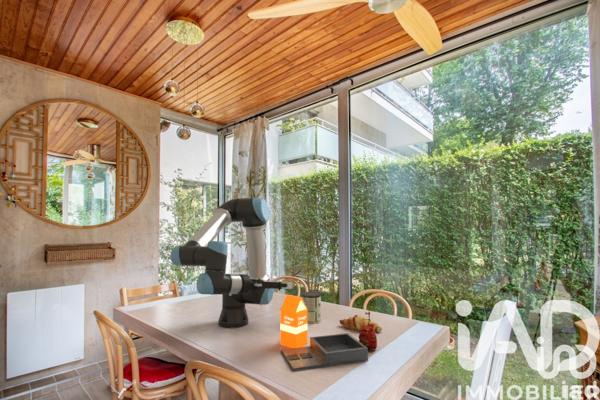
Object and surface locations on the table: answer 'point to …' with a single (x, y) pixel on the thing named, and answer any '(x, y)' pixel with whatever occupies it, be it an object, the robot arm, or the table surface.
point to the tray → (326, 352)
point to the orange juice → (293, 322)
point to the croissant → (359, 323)
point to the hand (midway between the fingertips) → (282, 284)
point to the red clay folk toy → (368, 336)
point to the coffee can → (312, 306)
